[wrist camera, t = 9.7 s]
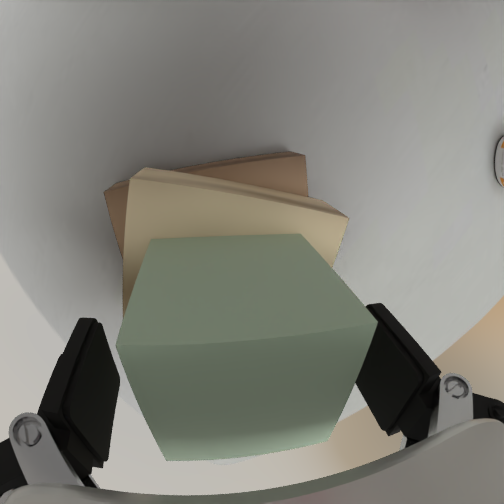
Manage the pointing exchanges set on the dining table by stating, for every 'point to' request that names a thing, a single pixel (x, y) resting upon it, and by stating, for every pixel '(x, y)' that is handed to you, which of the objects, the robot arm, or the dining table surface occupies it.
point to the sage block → (241, 345)
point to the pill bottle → (500, 162)
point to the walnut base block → (238, 170)
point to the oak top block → (218, 215)
